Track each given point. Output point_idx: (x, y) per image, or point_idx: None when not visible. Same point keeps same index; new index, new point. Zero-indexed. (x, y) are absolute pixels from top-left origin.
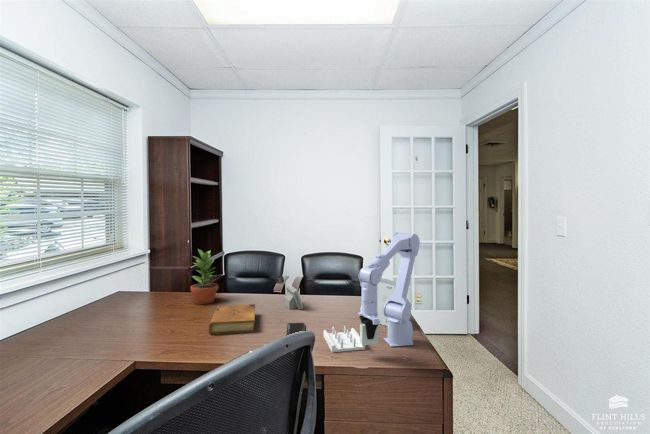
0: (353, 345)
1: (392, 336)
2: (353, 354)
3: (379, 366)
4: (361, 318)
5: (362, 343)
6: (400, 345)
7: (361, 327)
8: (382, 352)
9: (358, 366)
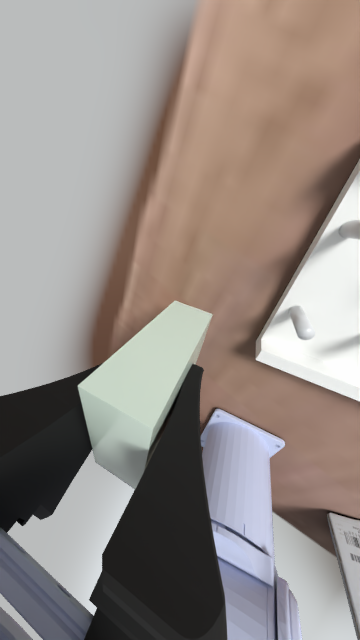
0: (300, 308)
1: (222, 447)
2: (245, 267)
3: (126, 296)
4: (105, 554)
5: (169, 307)
6: (207, 424)
7: (115, 379)
8: (200, 366)
9: (141, 224)
